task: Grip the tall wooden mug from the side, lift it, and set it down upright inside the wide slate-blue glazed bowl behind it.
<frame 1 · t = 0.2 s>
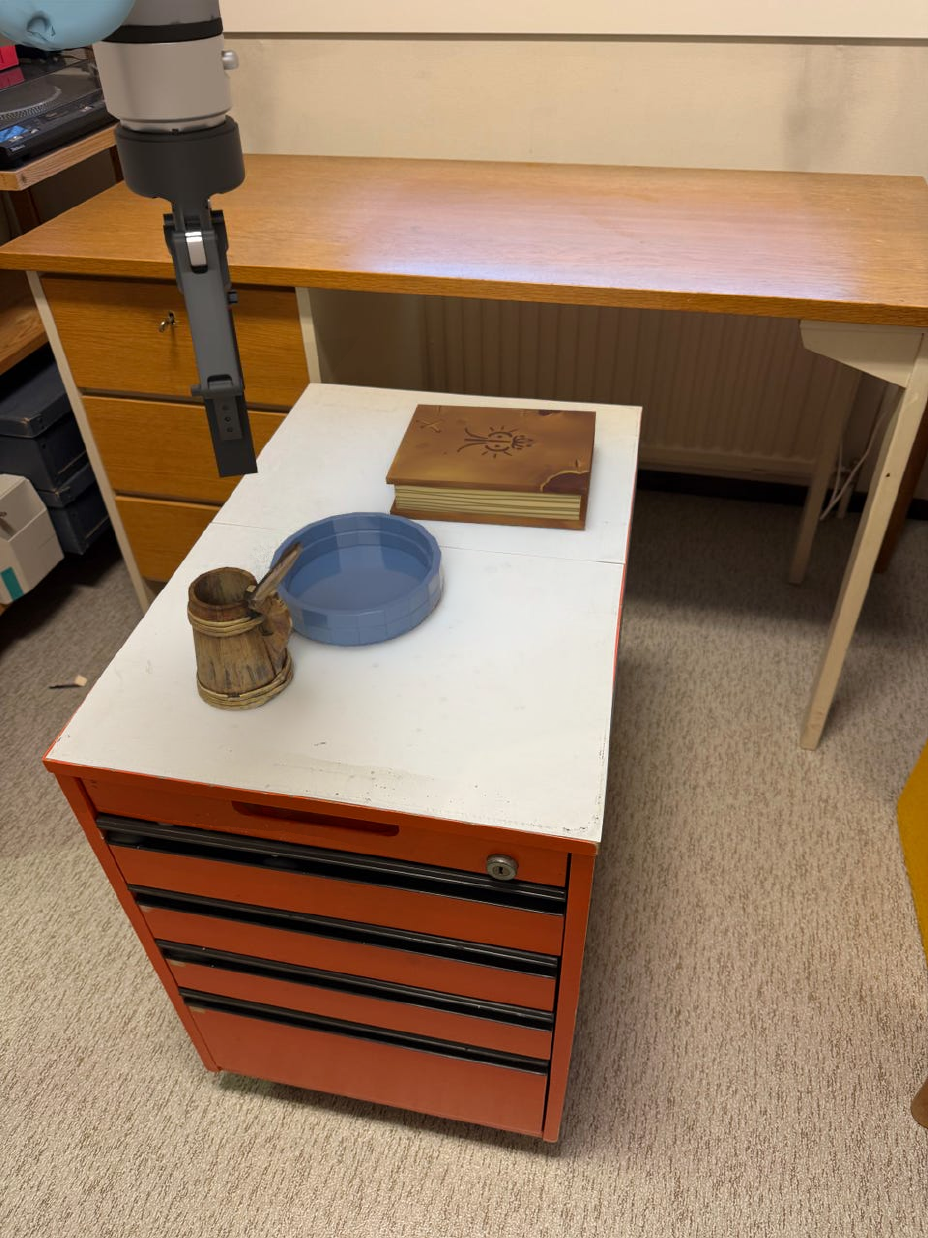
hand: (233, 428, 68), 26 cm above the cabinet, tool pointing down, fingers open, 13 cm apart
wooden mug: (265, 685, 84), on the cabinet
bowl: (360, 593, 94), on the cabinet
diary: (496, 482, 110), on the cabinet
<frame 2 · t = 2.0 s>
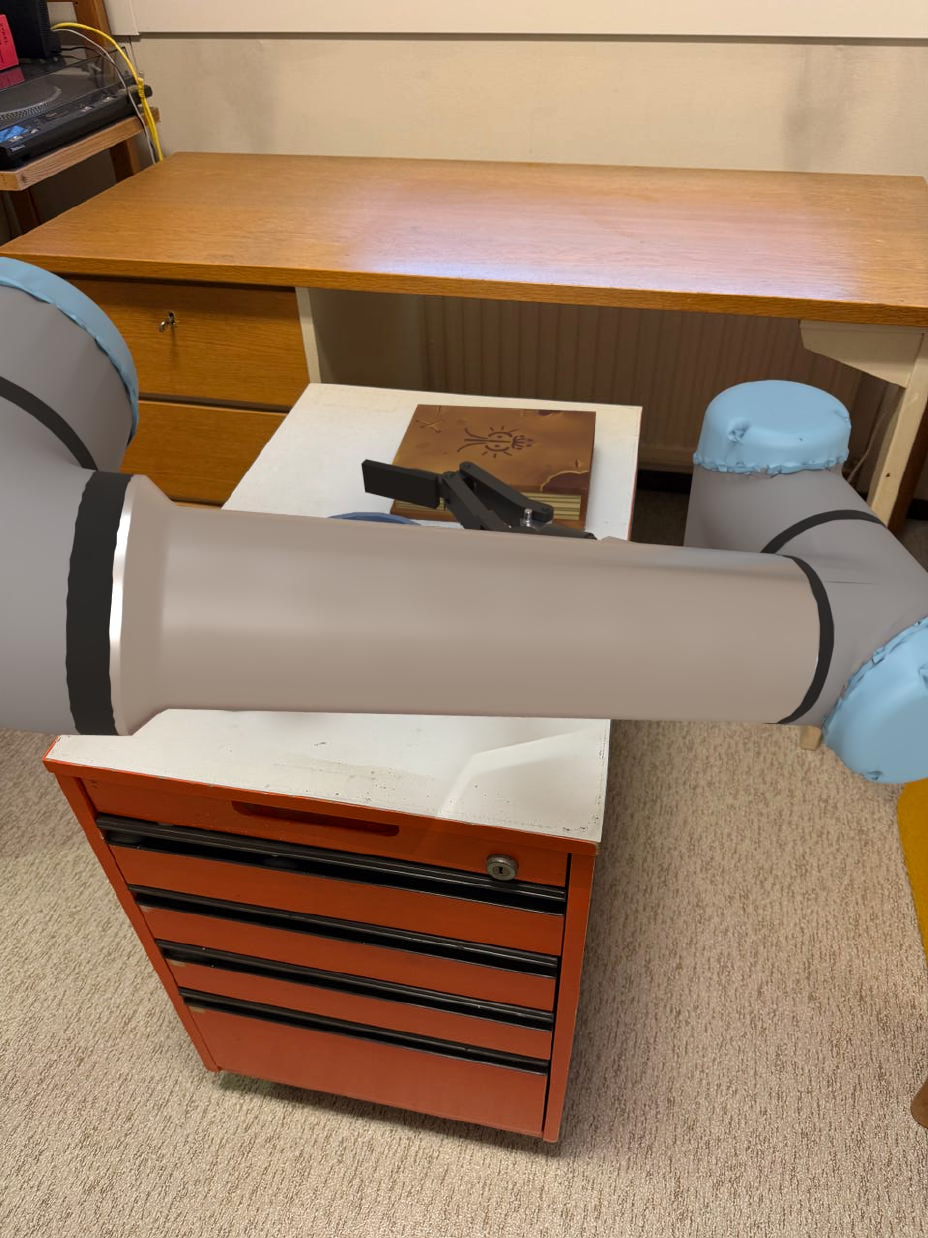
hand: (319, 520, 67), 22 cm above the cabinet, tool horizontal, fingers open, 13 cm apart
nothing on the cabinet moved.
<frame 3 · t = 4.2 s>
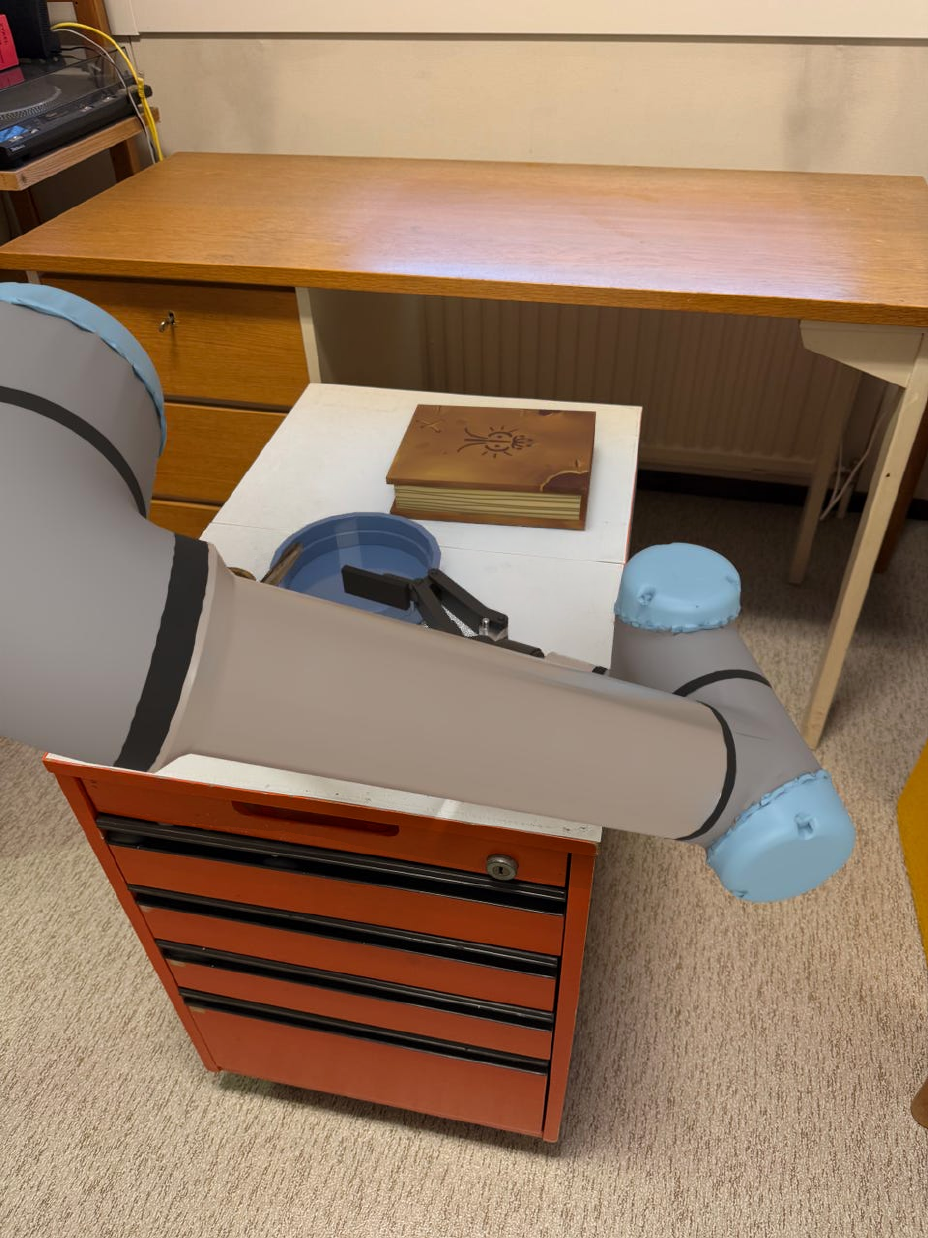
hand: (302, 623, 76), 10 cm above the cabinet, tool horizontal, fingers open, 13 cm apart
nothing on the cabinet moved.
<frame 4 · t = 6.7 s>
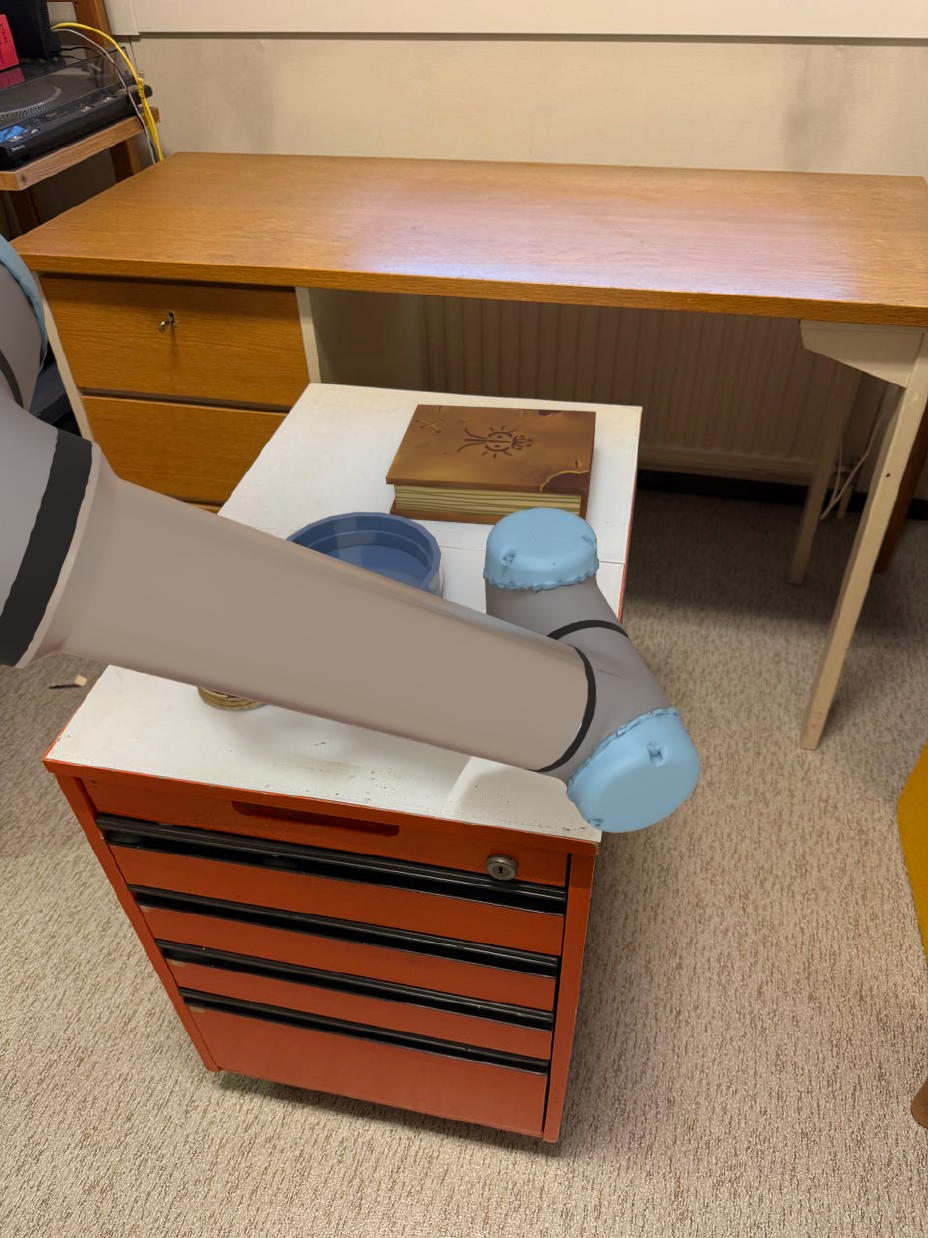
hand: (200, 589, 79), 10 cm above the cabinet, tool horizontal, fingers closed on wooden mug, 7 cm apart
wooden mug: (265, 685, 84), on the cabinet, touching gripper
everything else where it was.
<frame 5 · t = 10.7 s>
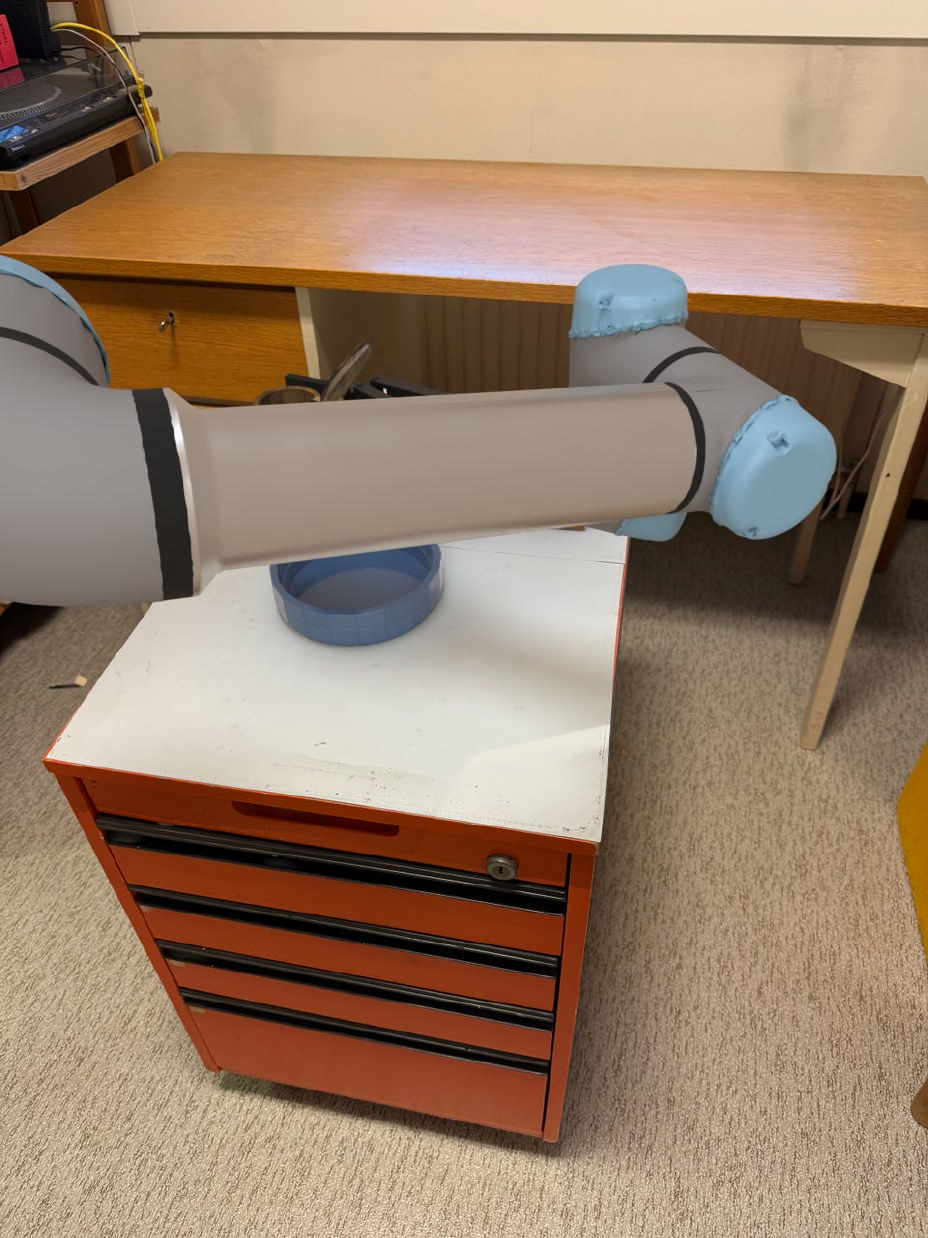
hand: (265, 406, 79), 22 cm above the cabinet, tool horizontal, fingers closed on wooden mug, 7 cm apart
wooden mug: (326, 514, 84), point 12 cm above the cabinet, touching gripper
everything else where it was.
when the fingers open (11 cm above the cabinet, at t = 14.5 s): wooden mug stays where it is, resting on bowl.
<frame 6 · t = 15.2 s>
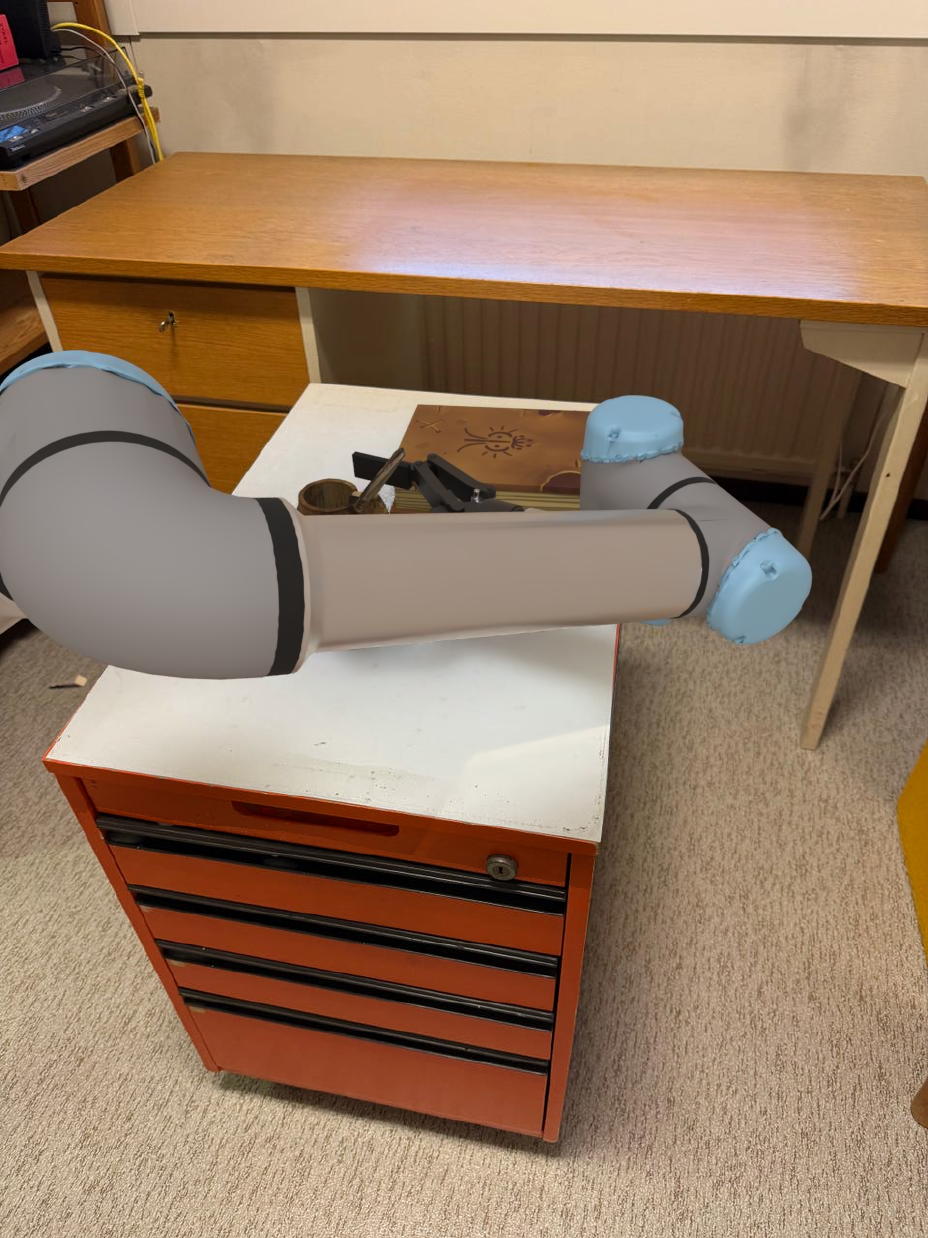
hand: (319, 497, 88), 11 cm above the cabinet, tool horizontal, fingers open, 13 cm apart
wooden mug: (359, 589, 94), point 1 cm above the cabinet, touching bowl
everything else where it was.
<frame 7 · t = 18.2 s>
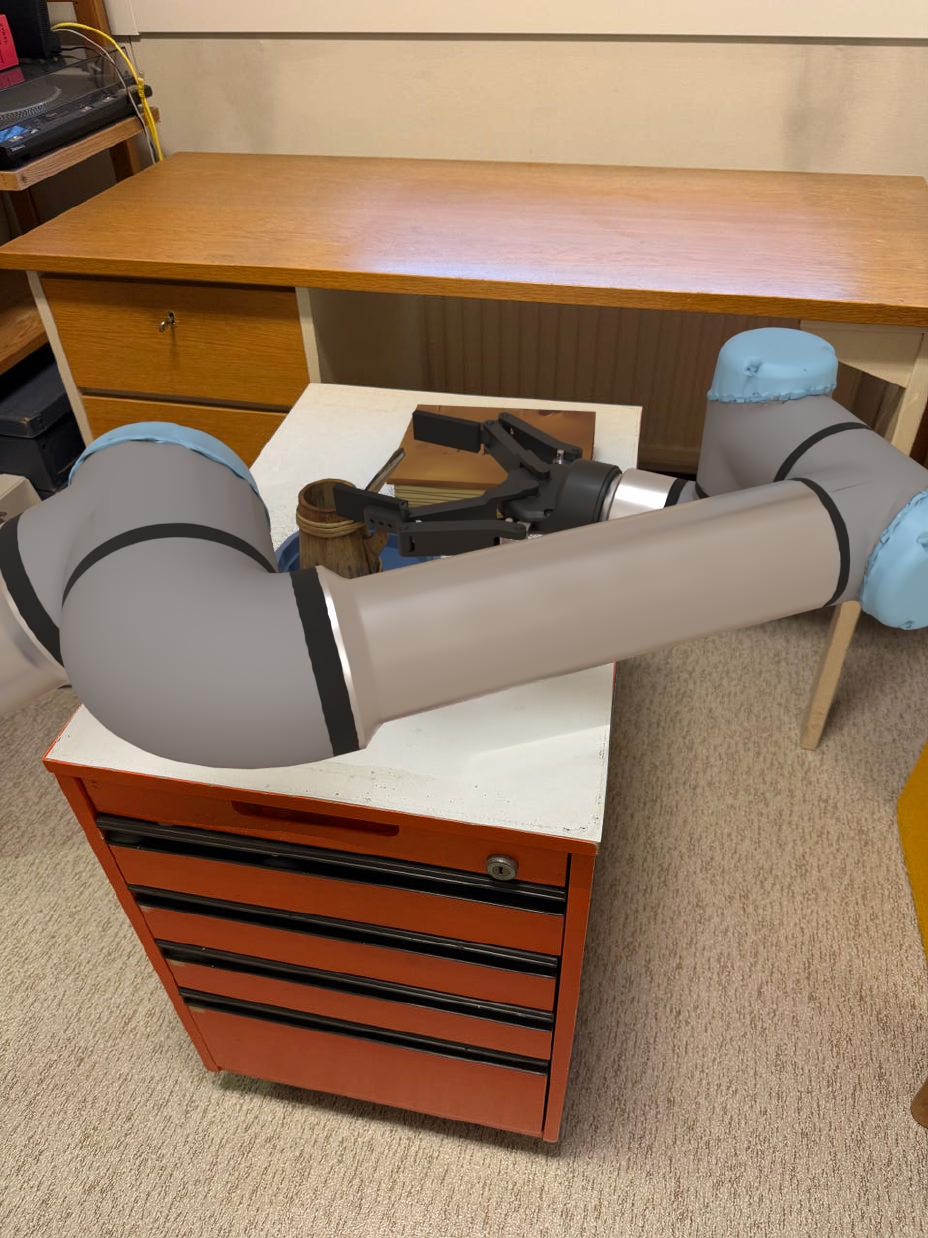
hand: (377, 459, 77), 20 cm above the cabinet, tool horizontal, fingers open, 13 cm apart
nothing on the cabinet moved.
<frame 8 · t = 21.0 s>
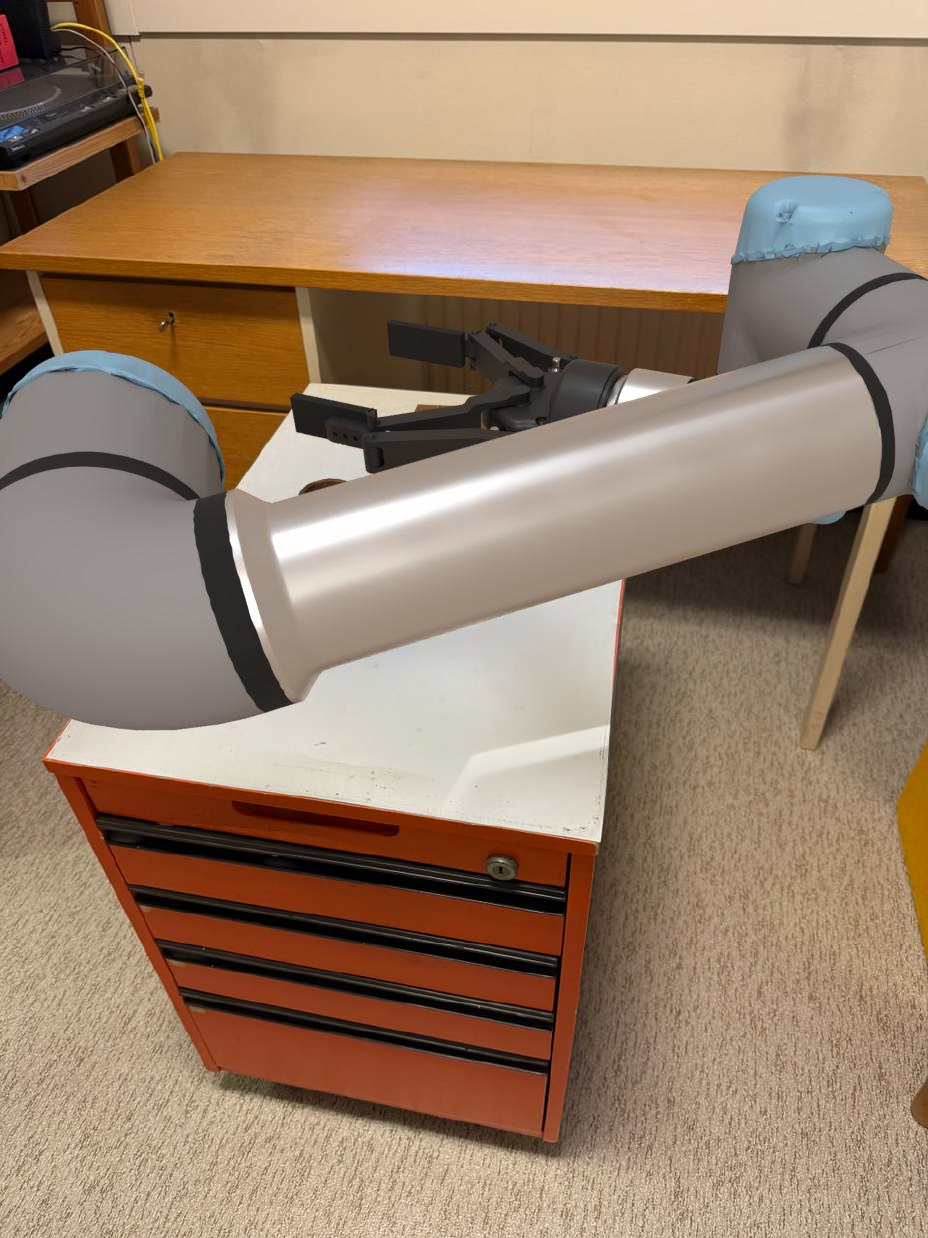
hand: (345, 372, 66), 30 cm above the cabinet, tool horizontal, fingers open, 13 cm apart
nothing on the cabinet moved.
at the end: wooden mug inside the target area in the bowl (0.1 cm from its centre), point 0.6 cm above the bowl's base; wooden mug tilted 0°; the gripper is holding nothing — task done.
